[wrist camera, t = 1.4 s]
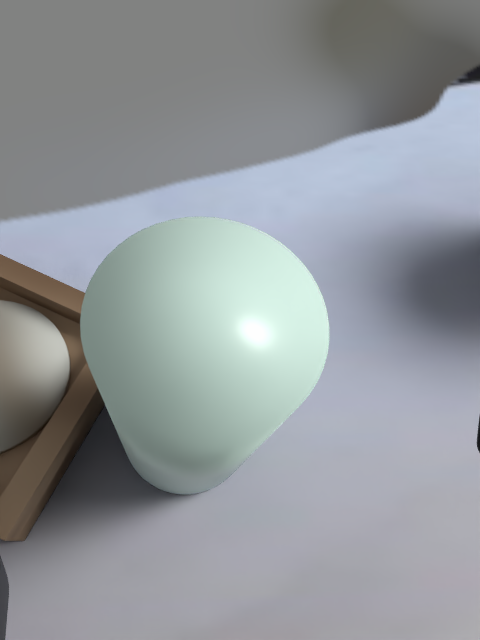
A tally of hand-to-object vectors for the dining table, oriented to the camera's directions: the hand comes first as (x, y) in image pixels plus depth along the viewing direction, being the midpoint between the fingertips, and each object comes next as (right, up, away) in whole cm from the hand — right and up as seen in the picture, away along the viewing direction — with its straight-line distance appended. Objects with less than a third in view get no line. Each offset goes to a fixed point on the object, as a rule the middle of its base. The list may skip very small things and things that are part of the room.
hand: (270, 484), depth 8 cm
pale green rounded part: (-3, -2, +14) cm, 14 cm away
